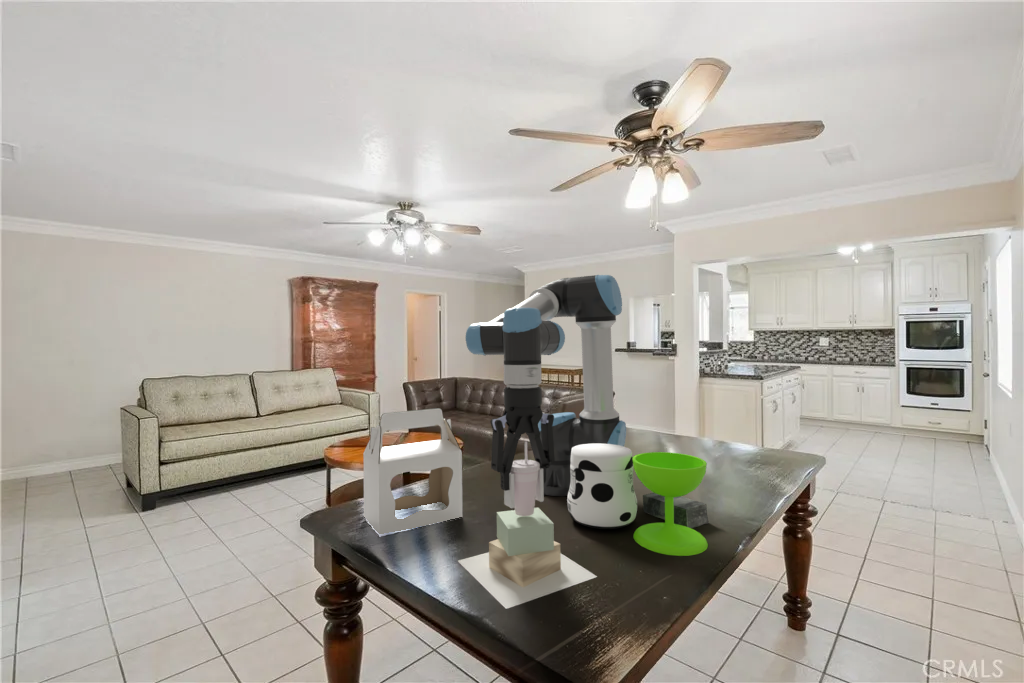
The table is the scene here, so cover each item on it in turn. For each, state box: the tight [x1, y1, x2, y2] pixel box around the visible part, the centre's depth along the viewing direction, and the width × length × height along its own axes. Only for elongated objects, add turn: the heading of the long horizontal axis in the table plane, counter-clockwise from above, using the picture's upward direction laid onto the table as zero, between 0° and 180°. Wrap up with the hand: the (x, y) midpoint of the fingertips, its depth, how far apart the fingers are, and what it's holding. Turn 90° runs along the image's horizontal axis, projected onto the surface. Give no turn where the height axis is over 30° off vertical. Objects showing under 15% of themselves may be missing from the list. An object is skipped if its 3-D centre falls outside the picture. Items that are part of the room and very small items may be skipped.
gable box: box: [362, 407, 463, 534], centre depth 117 cm, size 22×13×28 cm, turn 123°
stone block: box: [642, 492, 709, 529], centre depth 116 cm, size 9×14×5 cm, turn 29°
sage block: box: [496, 507, 555, 556], centre depth 89 cm, size 9×9×5 cm
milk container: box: [566, 443, 638, 530], centre depth 114 cm, size 17×17×18 cm
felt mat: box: [457, 551, 598, 610], centre depth 89 cm, size 20×20×1 cm
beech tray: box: [488, 538, 562, 587], centre depth 89 cm, size 10×10×5 cm
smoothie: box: [511, 441, 540, 516], centre depth 89 cm, size 6×6×14 cm
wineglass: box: [633, 451, 709, 557], centre depth 103 cm, size 16×16×18 cm
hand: (524, 502), depth 90 cm, fingers closed on smoothie, 6 cm apart
